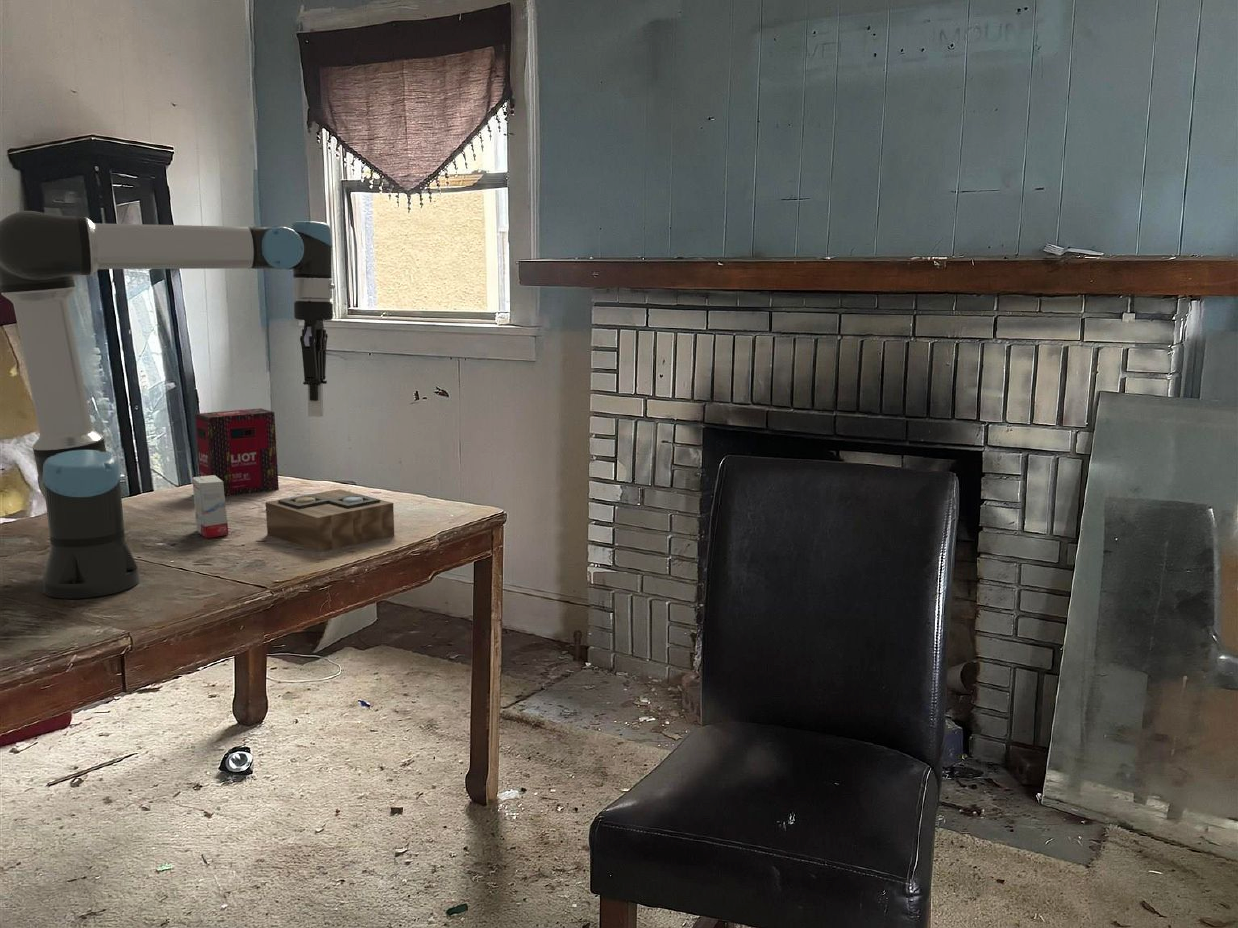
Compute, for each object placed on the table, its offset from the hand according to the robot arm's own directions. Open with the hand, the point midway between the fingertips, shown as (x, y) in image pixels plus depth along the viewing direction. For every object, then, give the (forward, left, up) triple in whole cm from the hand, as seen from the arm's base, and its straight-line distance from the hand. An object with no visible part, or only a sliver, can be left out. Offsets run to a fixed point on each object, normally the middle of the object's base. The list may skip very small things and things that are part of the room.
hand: (315, 415), depth 209 cm
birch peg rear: (-2, +3, -25) cm, 26 cm away
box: (+10, +54, -26) cm, 61 cm away
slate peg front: (+5, -4, -25) cm, 26 cm away
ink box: (-15, +19, -26) cm, 35 cm away
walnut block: (+2, 0, -26) cm, 26 cm away
